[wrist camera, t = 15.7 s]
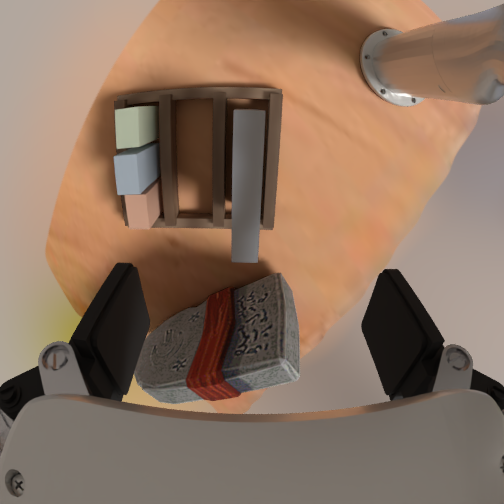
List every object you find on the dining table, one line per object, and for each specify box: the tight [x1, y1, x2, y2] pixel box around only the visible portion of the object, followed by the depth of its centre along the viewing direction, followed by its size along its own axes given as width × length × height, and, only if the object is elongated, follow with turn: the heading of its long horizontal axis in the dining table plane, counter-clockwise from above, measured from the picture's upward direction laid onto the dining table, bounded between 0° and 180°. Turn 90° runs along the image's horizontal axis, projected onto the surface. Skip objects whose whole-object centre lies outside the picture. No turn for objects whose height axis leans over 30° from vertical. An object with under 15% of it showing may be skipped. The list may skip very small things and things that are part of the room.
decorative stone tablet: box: [134, 273, 300, 404], centre depth 42 cm, size 19×6×30 cm
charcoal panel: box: [232, 109, 266, 263], centre depth 30 cm, size 2×14×16 cm, turn 178°
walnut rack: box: [114, 87, 283, 230], centre depth 36 cm, size 22×20×3 cm
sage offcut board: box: [115, 106, 159, 149], centre depth 30 cm, size 3×5×8 cm, turn 178°
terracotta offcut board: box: [125, 179, 164, 229], centre depth 36 cm, size 3×5×7 cm, turn 178°
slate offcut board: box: [114, 143, 161, 195], centre depth 33 cm, size 3×5×9 cm, turn 178°
